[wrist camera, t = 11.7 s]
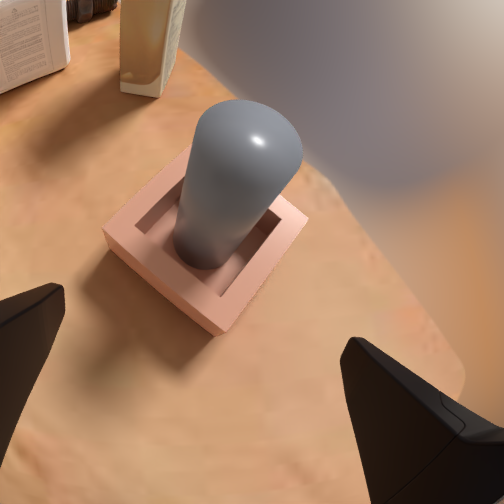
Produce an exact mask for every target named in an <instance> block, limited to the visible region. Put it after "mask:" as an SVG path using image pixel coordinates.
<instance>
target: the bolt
mask: <svg viewBox="0 0 504 504" xmlns="http://www.w3.org/2000/svg"><path fill="white" fill-rule="evenodd" d="M117 1H118V0H69V1H68V0H67V2H66V13H67V21H68V20H71V19H72V20H73V19H77V22H79V23H83V22H87V21H90V20H91V18H92V15H93V14H95V13H96V14H97V13H102V12H104V11H105V12H106V11H111V10H112V11H113V10H114V9H115V8H116V7H117V4H116V3H117Z"/></svg>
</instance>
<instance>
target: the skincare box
mask: <svg viewBox="0 0 504 504" xmlns="http://www.w3.org/2000/svg"><path fill="white" fill-rule="evenodd" d="M185 5H186V0H121V13H120V91H121V92H125V93H132V94H137V95H144V96H150V97H156V98H159V97H160V96H161V94H162V92H163V90H164V88H165V85H166V83H167V81H168V78H169V76H170V74H171V71H172V69H173V66H174V64H175V59H176V53H177V47H178V40H179V35H180V30H181V25H182V19H183V14H184V10H185Z"/></svg>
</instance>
